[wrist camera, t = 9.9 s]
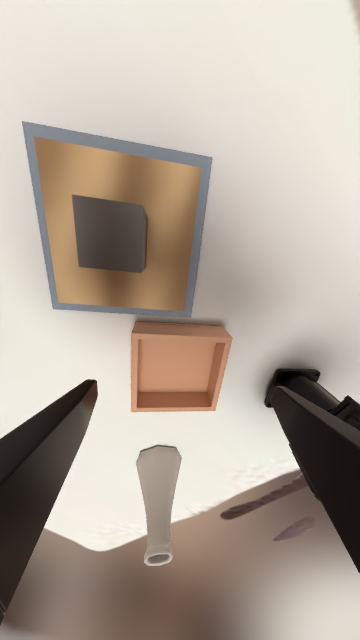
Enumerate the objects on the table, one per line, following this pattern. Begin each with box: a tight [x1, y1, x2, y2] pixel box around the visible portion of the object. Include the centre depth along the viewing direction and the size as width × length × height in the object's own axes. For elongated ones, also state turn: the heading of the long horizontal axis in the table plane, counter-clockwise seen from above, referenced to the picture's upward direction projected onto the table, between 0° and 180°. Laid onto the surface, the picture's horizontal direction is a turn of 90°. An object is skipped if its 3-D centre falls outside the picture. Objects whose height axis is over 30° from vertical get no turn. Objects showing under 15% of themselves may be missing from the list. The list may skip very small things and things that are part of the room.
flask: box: [136, 446, 181, 566], centre depth 24 cm, size 7×7×10 cm
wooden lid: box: [34, 137, 201, 311], centre depth 13 cm, size 12×12×5 cm
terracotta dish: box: [131, 321, 232, 412], centre depth 20 cm, size 10×10×3 cm
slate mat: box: [22, 121, 212, 317], centre depth 16 cm, size 14×14×1 cm
